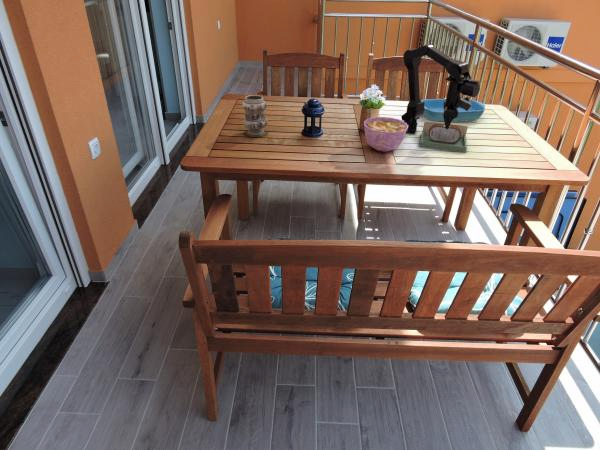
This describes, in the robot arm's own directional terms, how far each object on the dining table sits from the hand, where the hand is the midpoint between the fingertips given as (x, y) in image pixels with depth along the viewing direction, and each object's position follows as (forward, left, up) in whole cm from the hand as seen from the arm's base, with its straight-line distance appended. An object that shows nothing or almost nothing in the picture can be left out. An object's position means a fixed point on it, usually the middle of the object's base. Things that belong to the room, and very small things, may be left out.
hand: (446, 125), depth 197 cm
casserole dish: (+3, +41, -9) cm, 43 cm away
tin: (0, 0, -8) cm, 8 cm away
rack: (0, 0, -9) cm, 9 cm away
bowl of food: (-27, -15, -9) cm, 32 cm away
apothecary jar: (-90, -17, -9) cm, 92 cm away
